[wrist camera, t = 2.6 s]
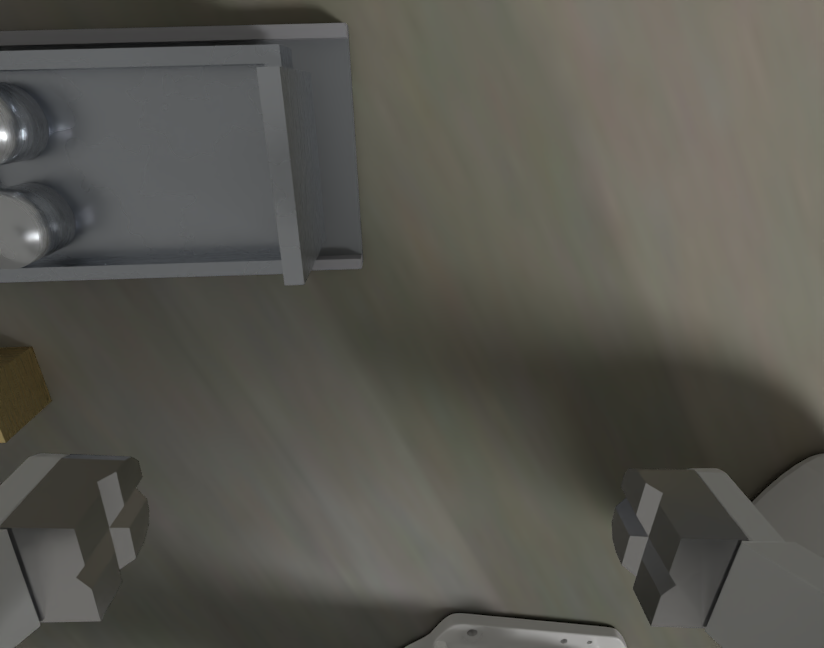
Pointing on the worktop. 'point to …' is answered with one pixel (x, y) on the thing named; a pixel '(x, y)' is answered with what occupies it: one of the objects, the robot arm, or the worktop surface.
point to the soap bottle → (797, 504)
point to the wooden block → (20, 390)
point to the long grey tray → (174, 161)
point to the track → (311, 52)
